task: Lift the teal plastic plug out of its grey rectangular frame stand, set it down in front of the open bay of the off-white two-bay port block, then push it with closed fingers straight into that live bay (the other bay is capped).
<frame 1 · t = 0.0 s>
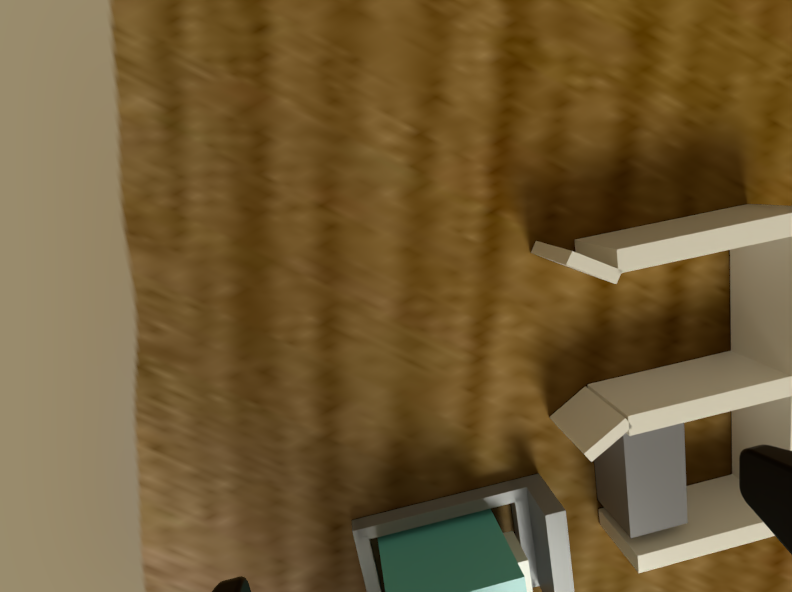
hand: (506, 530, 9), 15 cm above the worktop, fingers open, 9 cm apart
plug: (438, 548, 26), on the worktop
grey rectangular frame stand: (439, 550, 26), on the worktop
port: (660, 376, 25), on the worktop
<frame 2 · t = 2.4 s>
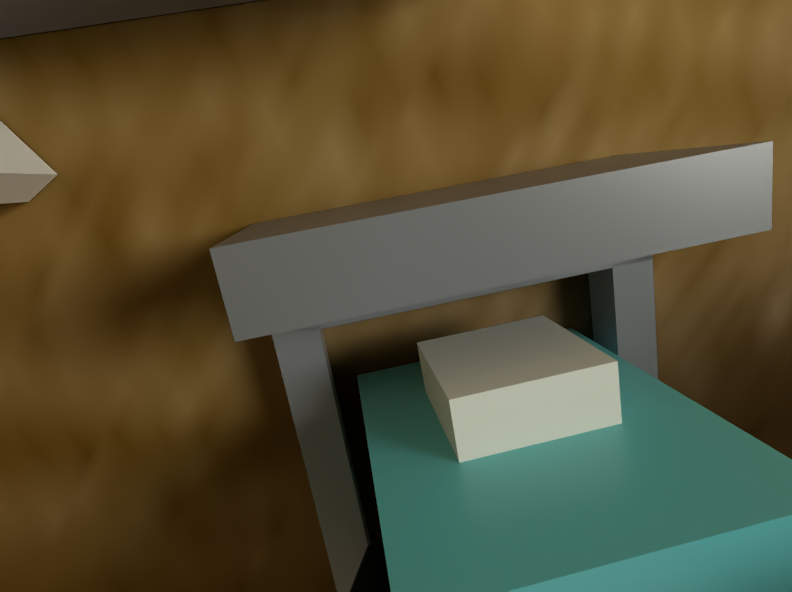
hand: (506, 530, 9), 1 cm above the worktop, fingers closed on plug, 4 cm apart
plug: (487, 493, 10), on the worktop, touching gripper
grey rectangular frame stand: (487, 494, 10), on the worktop
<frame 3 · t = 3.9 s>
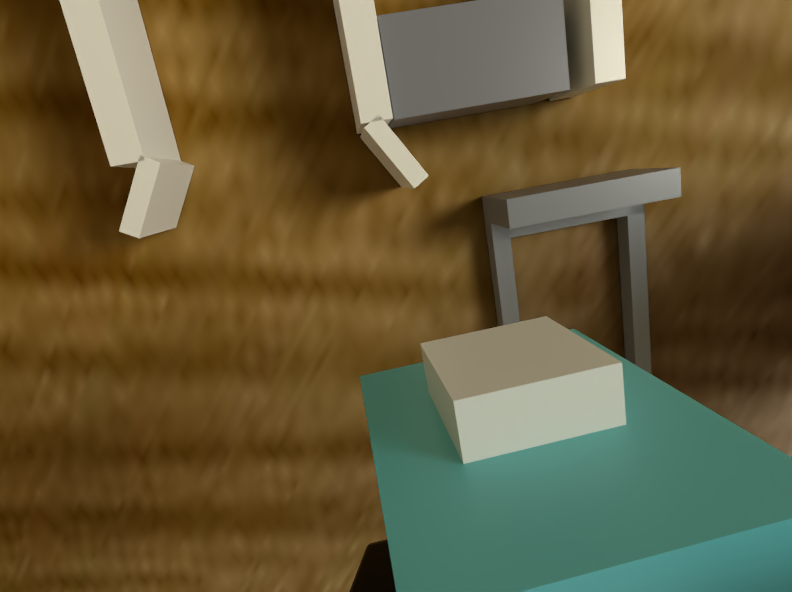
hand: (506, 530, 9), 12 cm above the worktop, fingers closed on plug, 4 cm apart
plug: (490, 494, 10), point 11 cm above the worktop, touching gripper
grey rectangular frame stand: (569, 321, 21), on the worktop
port: (349, 14, 17), on the worktop
when the fingers open (2 cm above the worktop, at t = 5.5 s): plug drops 1 cm, on the worktop.
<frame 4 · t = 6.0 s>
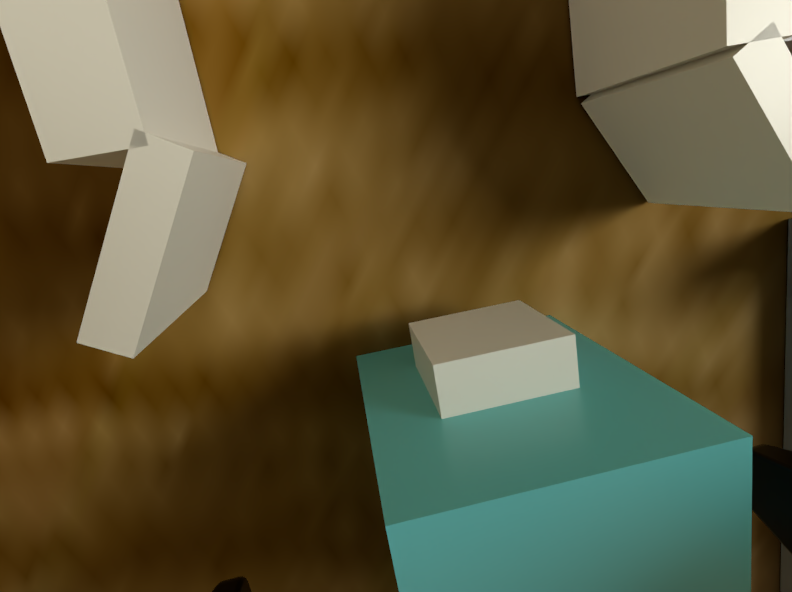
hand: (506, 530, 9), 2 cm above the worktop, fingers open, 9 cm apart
plug: (473, 463, 11), on the worktop
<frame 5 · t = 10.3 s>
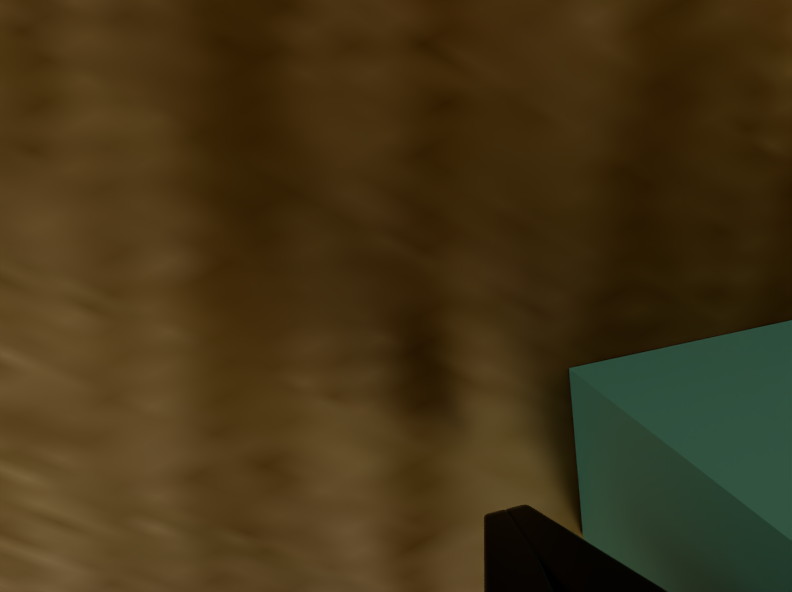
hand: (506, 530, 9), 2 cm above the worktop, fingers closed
plug: (708, 425, 10), on the worktop, touching gripper
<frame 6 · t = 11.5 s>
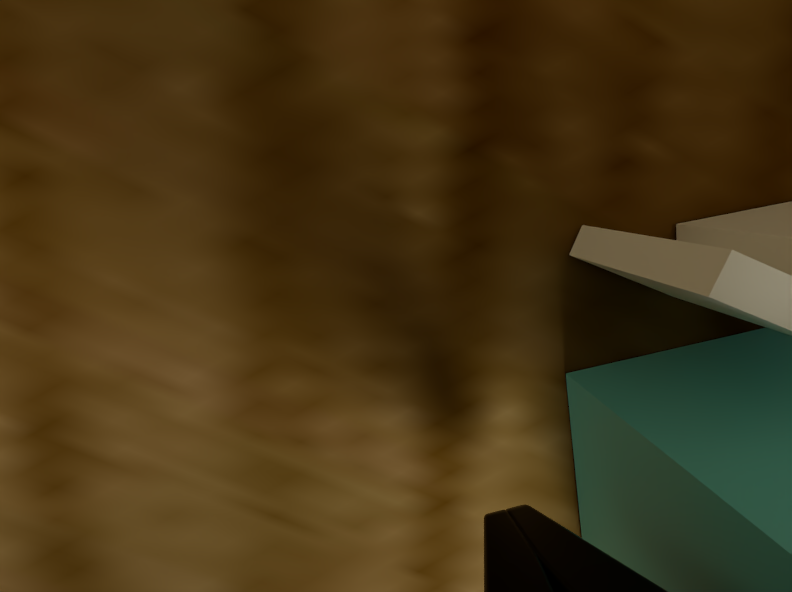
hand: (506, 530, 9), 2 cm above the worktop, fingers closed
plug: (705, 428, 11), on the worktop, touching gripper
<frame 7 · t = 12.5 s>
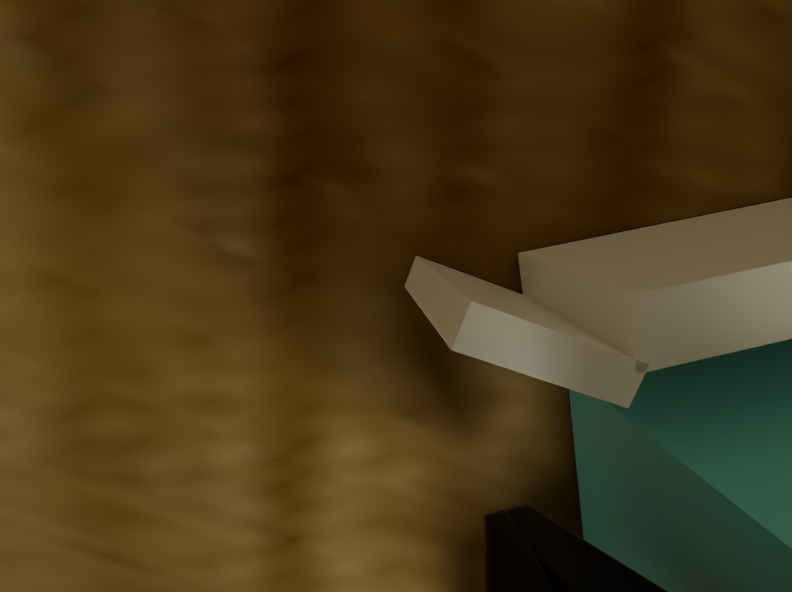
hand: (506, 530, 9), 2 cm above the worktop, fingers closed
plug: (707, 426, 10), on the worktop, touching gripper
port: (721, 556, 11), on the worktop
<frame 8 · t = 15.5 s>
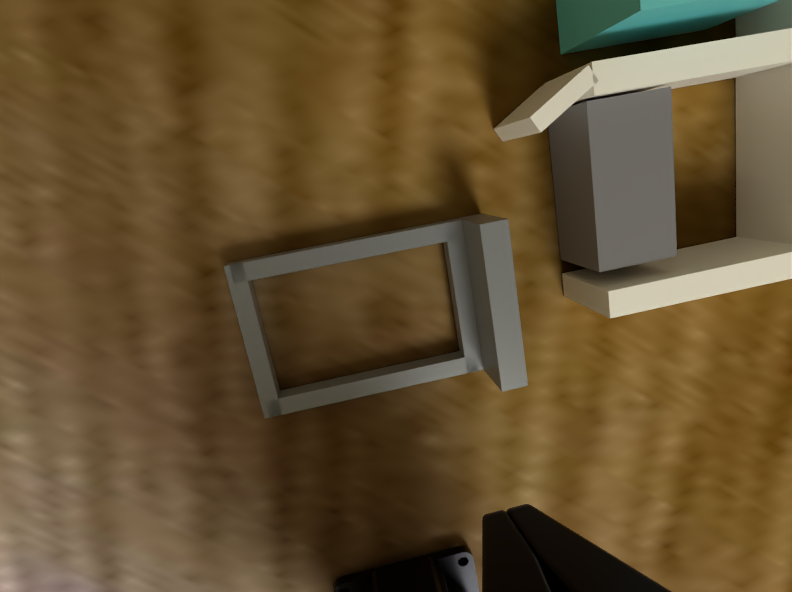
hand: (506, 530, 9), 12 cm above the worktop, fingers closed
grey rectangular frame stand: (350, 317, 20), on the worktop
port: (642, 80, 19), on the worktop
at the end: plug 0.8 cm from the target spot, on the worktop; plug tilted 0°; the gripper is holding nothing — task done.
